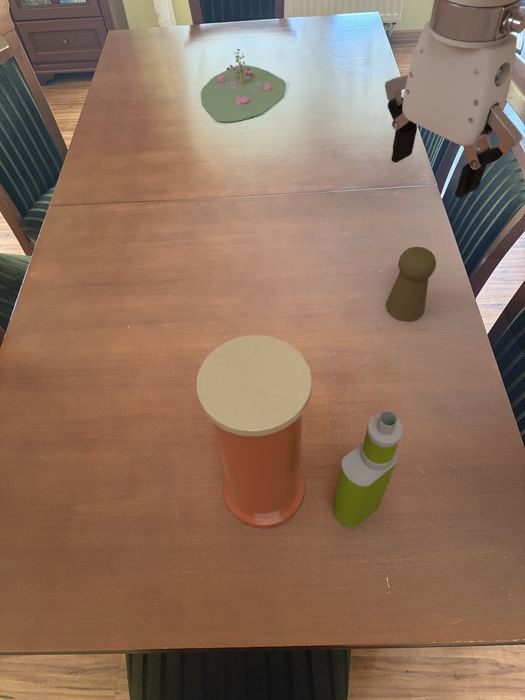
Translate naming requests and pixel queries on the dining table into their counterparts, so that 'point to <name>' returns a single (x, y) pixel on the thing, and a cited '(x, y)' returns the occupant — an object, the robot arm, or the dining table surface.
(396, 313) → the olive pawn
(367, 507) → the vape
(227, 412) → the column
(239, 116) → the plant
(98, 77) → the dining table surface
